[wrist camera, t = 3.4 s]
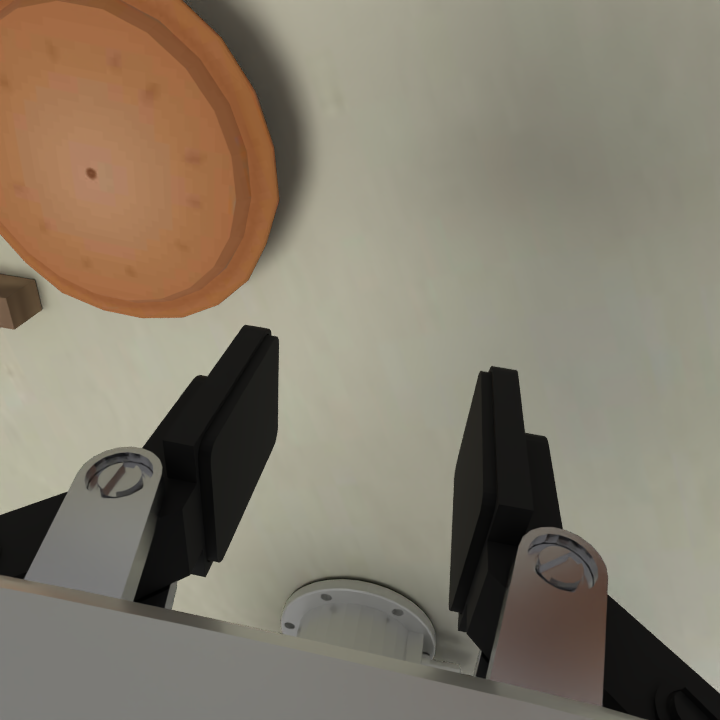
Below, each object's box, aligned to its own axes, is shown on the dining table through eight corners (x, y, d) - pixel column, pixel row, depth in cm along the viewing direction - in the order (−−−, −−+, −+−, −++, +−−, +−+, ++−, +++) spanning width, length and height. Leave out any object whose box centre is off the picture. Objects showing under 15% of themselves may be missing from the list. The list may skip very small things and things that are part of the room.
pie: (364, 175, 27) (343, 206, 23) (170, 336, 34) (128, 382, 30) (113, -141, 22) (31, -173, 18) (-52, 123, 29) (-139, 143, 25)
